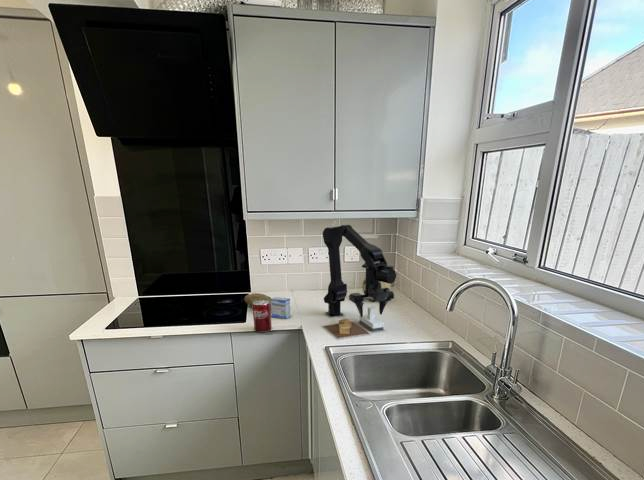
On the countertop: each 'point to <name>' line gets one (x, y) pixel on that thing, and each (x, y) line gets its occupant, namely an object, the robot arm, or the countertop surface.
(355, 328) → the spill patch
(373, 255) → the robot arm
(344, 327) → the crumb
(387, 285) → the cantaloupe
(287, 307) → the medicine box
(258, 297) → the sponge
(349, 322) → the crumb
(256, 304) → the soda can
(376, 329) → the brush
